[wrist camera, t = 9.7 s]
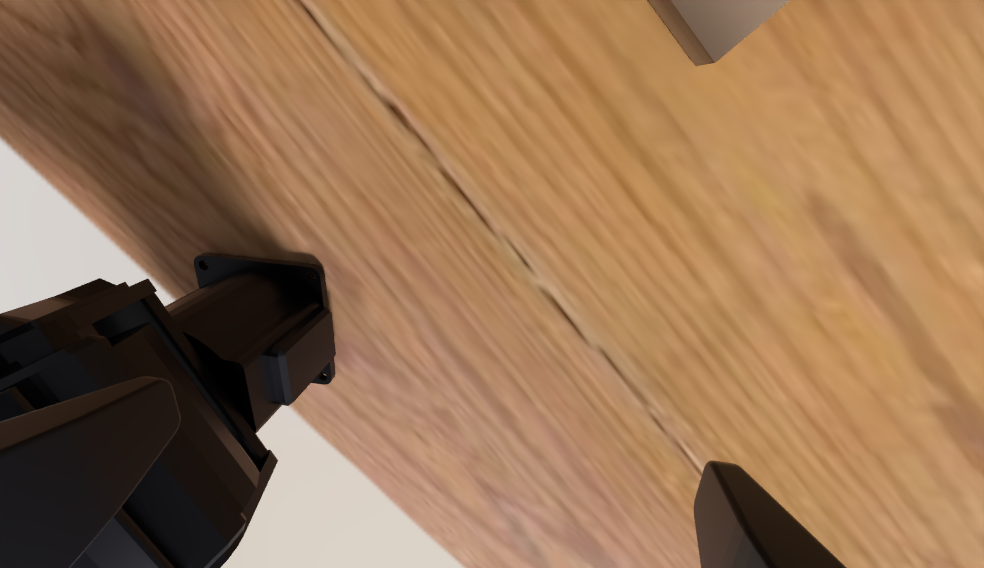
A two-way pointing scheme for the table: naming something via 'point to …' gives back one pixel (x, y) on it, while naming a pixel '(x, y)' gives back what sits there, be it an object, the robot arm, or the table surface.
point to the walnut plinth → (713, 24)
